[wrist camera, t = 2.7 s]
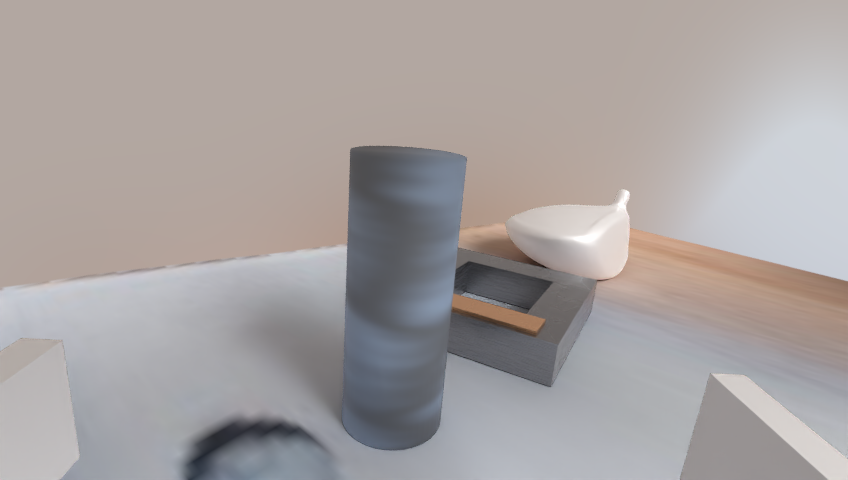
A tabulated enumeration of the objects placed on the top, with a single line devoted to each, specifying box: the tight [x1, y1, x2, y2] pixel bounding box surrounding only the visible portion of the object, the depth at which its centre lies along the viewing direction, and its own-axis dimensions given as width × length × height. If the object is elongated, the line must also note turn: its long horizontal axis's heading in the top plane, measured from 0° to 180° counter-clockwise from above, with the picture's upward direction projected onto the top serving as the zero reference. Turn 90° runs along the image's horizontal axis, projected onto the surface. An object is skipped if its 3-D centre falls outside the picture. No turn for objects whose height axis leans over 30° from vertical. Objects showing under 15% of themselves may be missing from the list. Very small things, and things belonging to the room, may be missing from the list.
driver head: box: [505, 189, 630, 280], centre depth 44 cm, size 10×11×12 cm
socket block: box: [447, 248, 597, 387], centre depth 32 cm, size 12×12×3 cm
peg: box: [342, 146, 467, 450], centre depth 20 cm, size 4×4×12 cm
